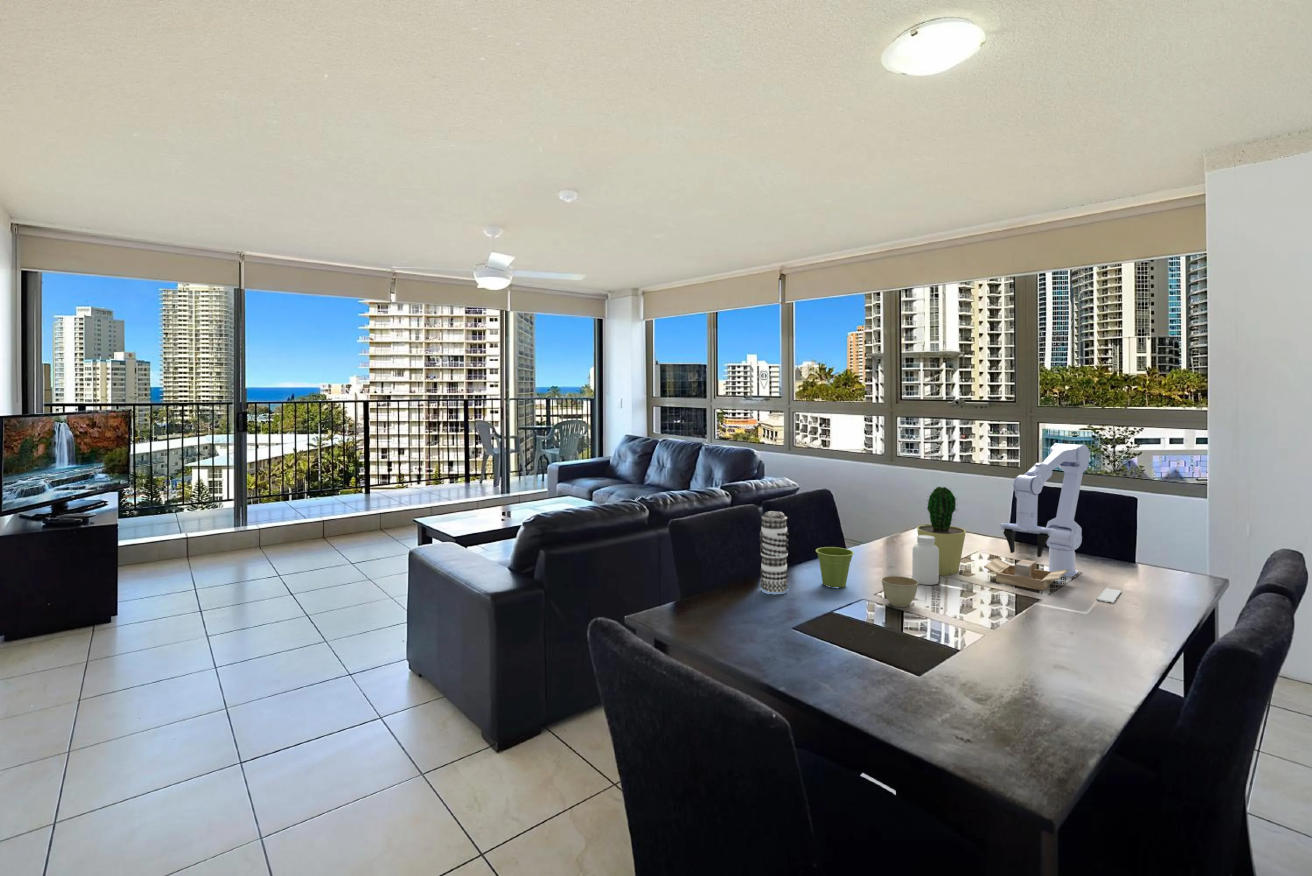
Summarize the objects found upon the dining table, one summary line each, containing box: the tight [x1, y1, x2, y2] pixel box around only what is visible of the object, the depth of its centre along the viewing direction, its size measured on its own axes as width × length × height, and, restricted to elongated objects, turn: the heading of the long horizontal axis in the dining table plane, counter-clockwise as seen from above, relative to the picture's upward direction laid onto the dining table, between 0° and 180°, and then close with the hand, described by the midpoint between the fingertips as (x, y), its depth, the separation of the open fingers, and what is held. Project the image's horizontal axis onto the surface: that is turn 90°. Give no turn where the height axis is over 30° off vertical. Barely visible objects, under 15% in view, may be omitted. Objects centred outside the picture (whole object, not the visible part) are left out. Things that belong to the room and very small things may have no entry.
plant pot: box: [815, 546, 855, 588], centre depth 200 cm, size 12×12×11 cm
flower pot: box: [881, 575, 919, 608], centre depth 182 cm, size 10×10×7 cm
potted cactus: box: [916, 486, 967, 577], centre depth 214 cm, size 15×15×30 cm
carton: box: [983, 558, 1068, 591], centre depth 200 cm, size 13×21×5 cm, turn 46°
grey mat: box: [1095, 587, 1122, 604], centre depth 189 cm, size 14×12×1 cm
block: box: [1014, 559, 1037, 579], centre depth 200 cm, size 8×4×6 cm, turn 135°
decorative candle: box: [759, 510, 790, 592], centre depth 195 cm, size 9×9×25 cm
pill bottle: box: [911, 535, 940, 586], centre depth 203 cm, size 8×8×15 cm
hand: (1025, 554), depth 200 cm, fingers open, 7 cm apart
